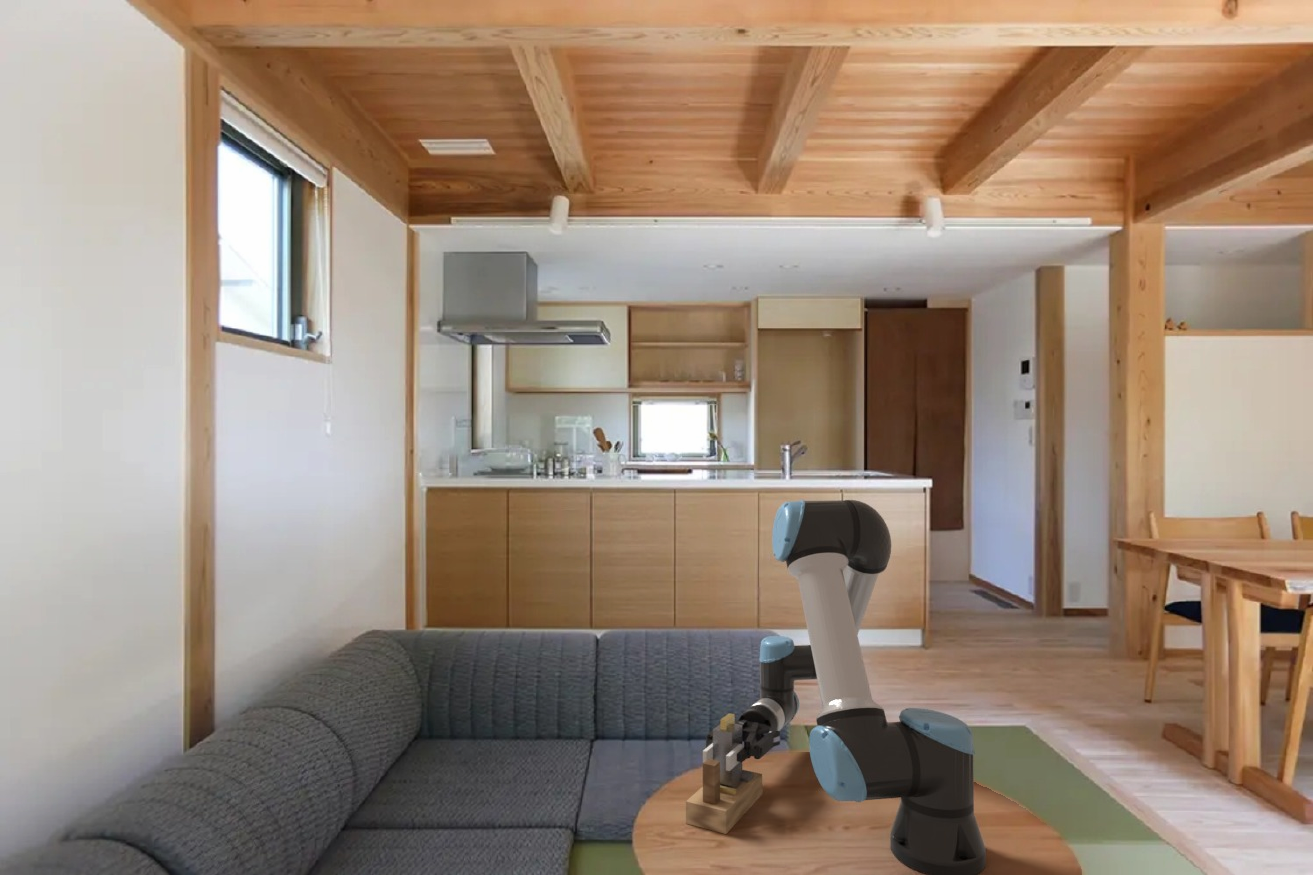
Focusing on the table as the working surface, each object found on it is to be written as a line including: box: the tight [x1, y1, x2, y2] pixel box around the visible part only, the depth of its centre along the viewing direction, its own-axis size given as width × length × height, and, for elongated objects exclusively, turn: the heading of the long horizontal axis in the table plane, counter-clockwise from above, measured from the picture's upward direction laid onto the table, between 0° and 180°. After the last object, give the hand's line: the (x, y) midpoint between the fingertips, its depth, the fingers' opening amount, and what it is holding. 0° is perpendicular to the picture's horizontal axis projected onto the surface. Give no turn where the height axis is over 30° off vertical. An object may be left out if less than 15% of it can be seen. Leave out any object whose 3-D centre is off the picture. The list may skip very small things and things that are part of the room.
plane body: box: [685, 759, 763, 835], centre depth 145 cm, size 8×18×11 cm, turn 151°
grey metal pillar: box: [712, 713, 743, 789], centre depth 146 cm, size 4×5×13 cm
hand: (716, 760), depth 141 cm, fingers closed on grey metal pillar, 4 cm apart
